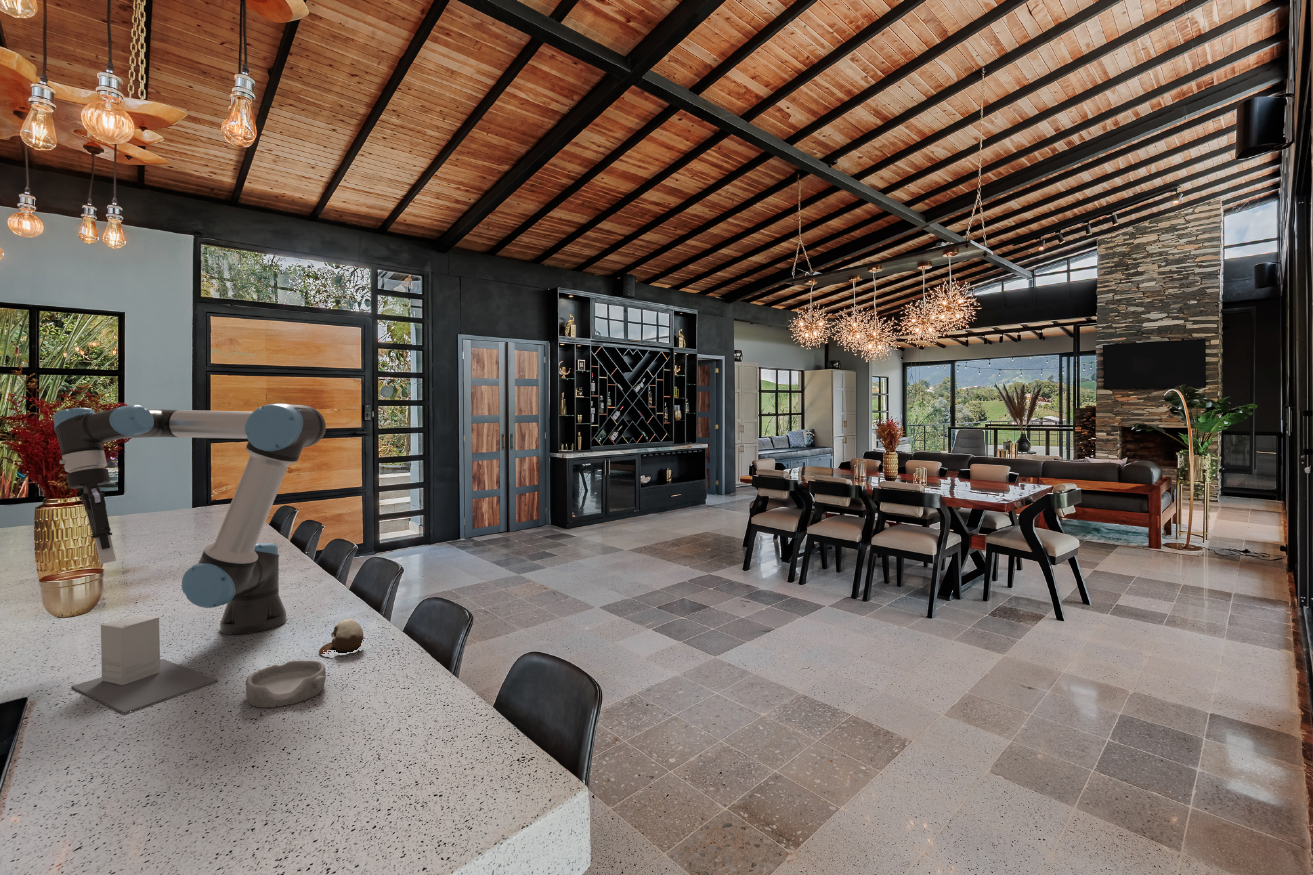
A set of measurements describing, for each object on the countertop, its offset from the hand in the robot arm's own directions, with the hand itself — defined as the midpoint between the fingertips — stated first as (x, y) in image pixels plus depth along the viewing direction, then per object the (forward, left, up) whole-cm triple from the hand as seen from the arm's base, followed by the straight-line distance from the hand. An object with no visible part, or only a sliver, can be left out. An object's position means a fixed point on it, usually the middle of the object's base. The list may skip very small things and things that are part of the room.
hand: (108, 562), depth 142 cm
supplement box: (-10, +24, -22) cm, 34 cm away
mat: (-14, +29, -22) cm, 39 cm away
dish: (-41, +48, -22) cm, 67 cm away
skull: (-52, +26, -22) cm, 63 cm away
